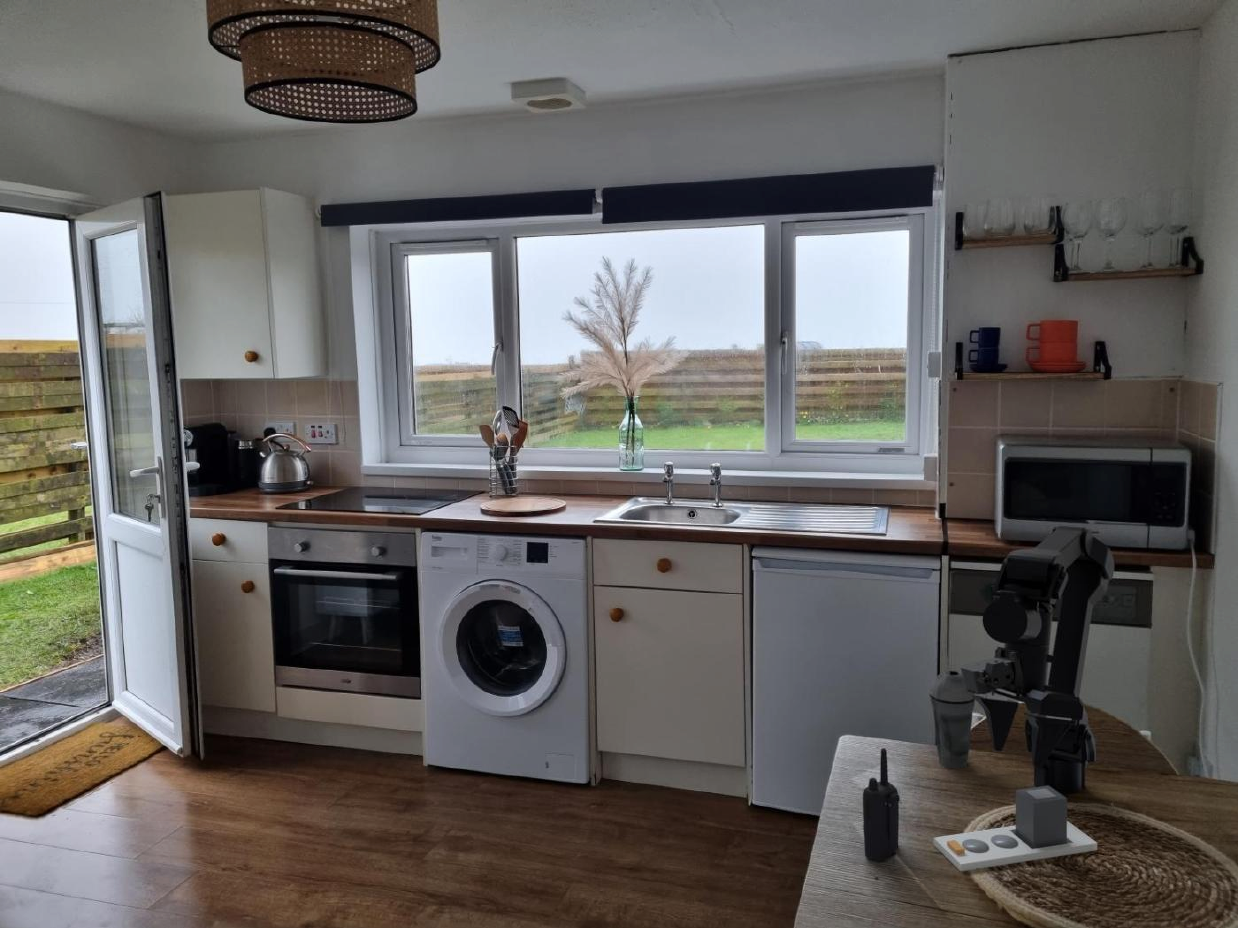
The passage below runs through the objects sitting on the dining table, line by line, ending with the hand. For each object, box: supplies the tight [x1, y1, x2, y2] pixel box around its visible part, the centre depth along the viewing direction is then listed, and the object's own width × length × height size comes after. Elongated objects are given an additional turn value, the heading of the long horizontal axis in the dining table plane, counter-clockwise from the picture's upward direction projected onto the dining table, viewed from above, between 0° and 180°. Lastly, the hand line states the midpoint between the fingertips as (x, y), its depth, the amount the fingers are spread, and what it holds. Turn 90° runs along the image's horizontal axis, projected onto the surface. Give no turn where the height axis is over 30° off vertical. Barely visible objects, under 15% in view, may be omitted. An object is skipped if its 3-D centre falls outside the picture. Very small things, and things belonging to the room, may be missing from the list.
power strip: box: [933, 820, 1098, 872], centre depth 127 cm, size 20×7×3 cm, turn 100°
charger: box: [1015, 785, 1068, 849], centre depth 128 cm, size 5×4×7 cm
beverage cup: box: [929, 645, 976, 769], centre depth 155 cm, size 7×7×20 cm
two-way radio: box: [862, 747, 901, 862], centre depth 128 cm, size 6×4×15 cm
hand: (1016, 758), depth 127 cm, fingers open, 9 cm apart
